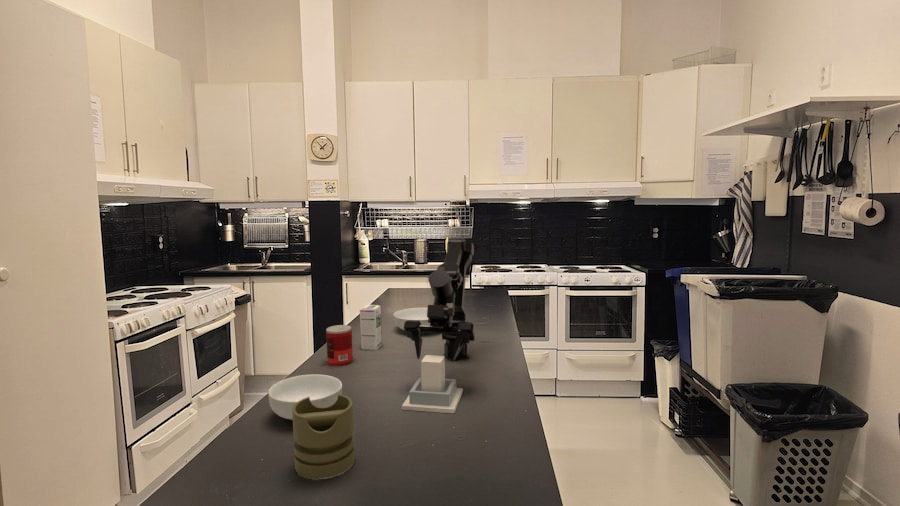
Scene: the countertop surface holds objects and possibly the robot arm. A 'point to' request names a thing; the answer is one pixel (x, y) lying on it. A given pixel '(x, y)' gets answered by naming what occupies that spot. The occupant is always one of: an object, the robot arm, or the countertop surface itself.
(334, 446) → the piston
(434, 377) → the plug
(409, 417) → the countertop surface
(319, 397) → the cereal bowl
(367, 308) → the syrup box
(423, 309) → the serving bowl
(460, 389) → the socket
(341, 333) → the canned food
